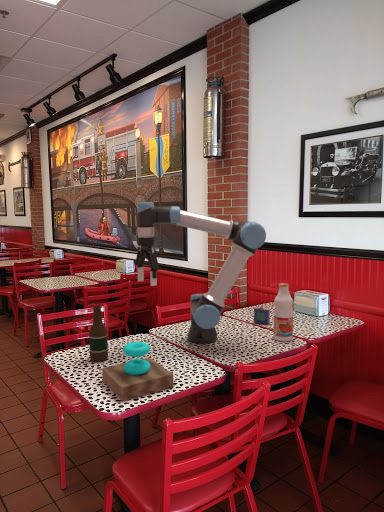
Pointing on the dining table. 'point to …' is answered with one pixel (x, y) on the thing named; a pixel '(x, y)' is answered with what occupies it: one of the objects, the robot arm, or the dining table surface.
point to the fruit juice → (283, 314)
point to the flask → (261, 316)
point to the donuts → (136, 364)
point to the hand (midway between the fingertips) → (147, 283)
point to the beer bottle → (98, 337)
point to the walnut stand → (137, 380)
